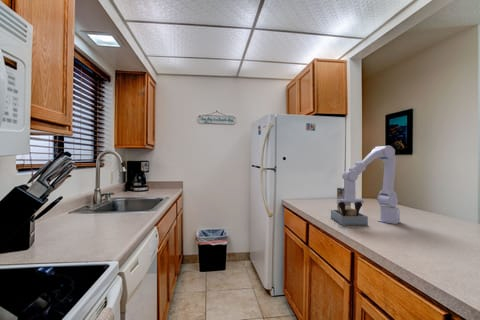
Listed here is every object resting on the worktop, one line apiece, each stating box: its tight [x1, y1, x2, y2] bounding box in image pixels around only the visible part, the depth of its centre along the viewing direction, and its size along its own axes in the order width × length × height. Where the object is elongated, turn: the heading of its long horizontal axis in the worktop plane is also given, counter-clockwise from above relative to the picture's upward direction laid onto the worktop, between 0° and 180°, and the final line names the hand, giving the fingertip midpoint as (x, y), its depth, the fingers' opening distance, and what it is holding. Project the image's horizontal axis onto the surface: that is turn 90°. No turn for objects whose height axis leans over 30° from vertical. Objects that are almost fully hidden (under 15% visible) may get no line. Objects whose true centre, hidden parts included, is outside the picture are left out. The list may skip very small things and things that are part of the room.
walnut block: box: [345, 207, 357, 216], centre depth 140 cm, size 5×5×5 cm
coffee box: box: [336, 187, 352, 210], centre depth 172 cm, size 9×6×16 cm
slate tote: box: [330, 209, 369, 227], centre depth 144 cm, size 18×14×5 cm
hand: (350, 215), depth 140 cm, fingers closed on walnut block, 7 cm apart
